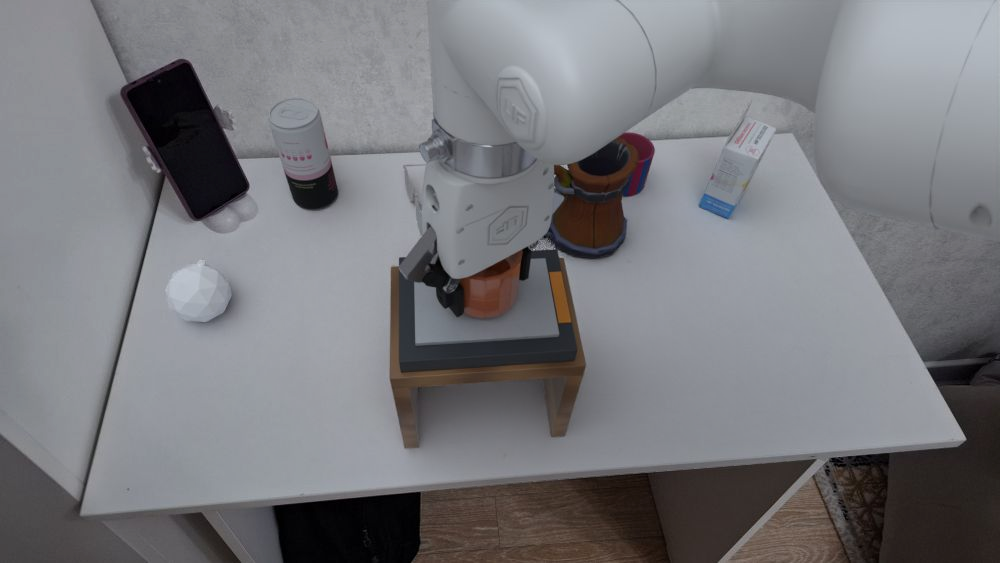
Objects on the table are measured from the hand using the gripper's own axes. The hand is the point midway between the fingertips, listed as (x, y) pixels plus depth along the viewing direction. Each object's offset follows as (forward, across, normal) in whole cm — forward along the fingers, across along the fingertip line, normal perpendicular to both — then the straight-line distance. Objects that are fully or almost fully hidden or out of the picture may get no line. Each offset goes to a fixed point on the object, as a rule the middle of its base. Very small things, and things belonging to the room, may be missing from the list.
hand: (484, 286), depth 57 cm
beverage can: (+21, -2, +40) cm, 45 cm away
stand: (+20, 0, 0) cm, 20 cm away
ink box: (+21, +49, +6) cm, 53 cm away
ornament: (+21, -22, +29) cm, 42 cm away
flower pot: (+1, 0, 0) cm, 1 cm away
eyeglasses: (+21, +12, +28) cm, 37 cm away
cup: (+21, +37, +18) cm, 46 cm away
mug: (+21, +24, +14) cm, 35 cm away
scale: (+4, 0, 0) cm, 4 cm away
